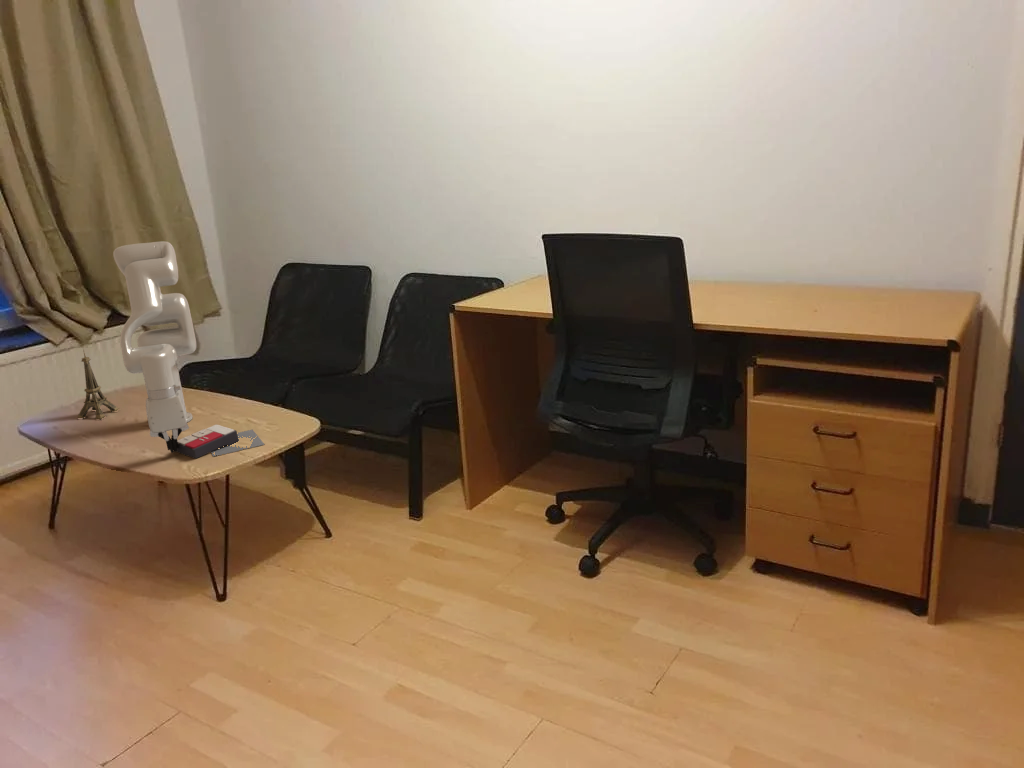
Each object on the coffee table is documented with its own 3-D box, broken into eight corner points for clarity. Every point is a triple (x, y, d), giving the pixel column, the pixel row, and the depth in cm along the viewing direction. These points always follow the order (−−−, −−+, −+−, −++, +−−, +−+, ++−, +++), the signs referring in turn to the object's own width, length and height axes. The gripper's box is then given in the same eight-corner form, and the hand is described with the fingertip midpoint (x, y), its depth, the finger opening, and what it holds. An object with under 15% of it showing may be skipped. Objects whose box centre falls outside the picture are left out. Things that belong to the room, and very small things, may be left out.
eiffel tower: (96, 409, 288) (80, 342, 280) (121, 409, 285) (106, 342, 278) (75, 420, 278) (58, 350, 270) (101, 420, 275) (85, 350, 268)
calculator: (172, 440, 241) (216, 422, 252) (176, 453, 242) (219, 434, 253) (192, 447, 234) (236, 428, 245) (195, 460, 236) (239, 441, 246)
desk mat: (203, 440, 250) (203, 440, 250) (252, 429, 257) (252, 429, 257) (213, 456, 236) (213, 456, 236) (264, 444, 243) (264, 444, 243)
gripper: (186, 384, 239) (198, 441, 245) (132, 394, 233) (145, 453, 238) (190, 390, 233) (202, 449, 239) (135, 401, 226) (148, 461, 232)
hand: (173, 451), depth 238 cm, fingers closed
